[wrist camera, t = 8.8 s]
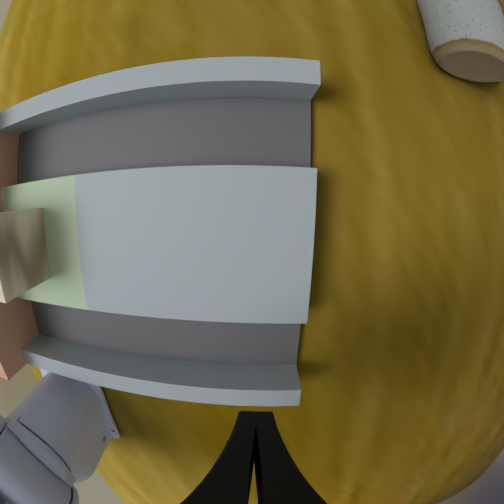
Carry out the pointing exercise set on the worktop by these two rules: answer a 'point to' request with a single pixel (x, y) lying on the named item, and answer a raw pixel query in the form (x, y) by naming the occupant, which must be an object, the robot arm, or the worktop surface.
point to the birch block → (22, 252)
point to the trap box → (168, 228)
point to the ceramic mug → (466, 37)
